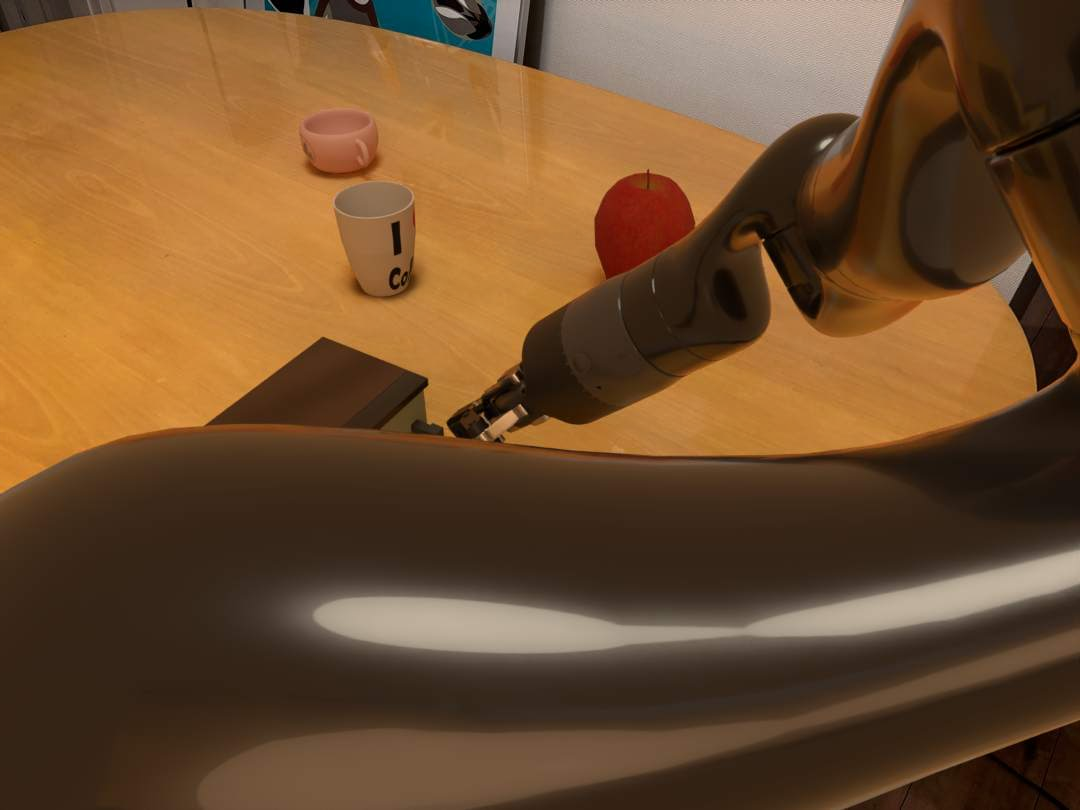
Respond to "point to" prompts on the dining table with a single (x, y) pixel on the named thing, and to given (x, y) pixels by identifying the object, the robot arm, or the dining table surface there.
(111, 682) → the robot arm
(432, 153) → the dining table surface
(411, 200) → the cup
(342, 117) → the mug
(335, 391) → the cabinet
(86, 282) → the dining table surface
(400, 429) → the door
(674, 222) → the apple
